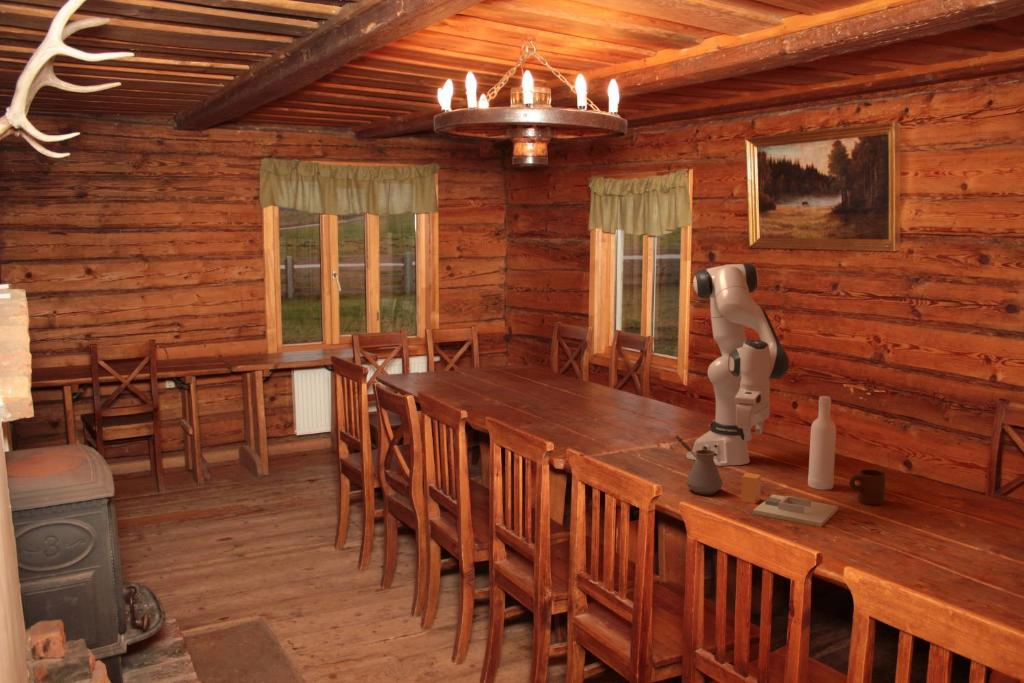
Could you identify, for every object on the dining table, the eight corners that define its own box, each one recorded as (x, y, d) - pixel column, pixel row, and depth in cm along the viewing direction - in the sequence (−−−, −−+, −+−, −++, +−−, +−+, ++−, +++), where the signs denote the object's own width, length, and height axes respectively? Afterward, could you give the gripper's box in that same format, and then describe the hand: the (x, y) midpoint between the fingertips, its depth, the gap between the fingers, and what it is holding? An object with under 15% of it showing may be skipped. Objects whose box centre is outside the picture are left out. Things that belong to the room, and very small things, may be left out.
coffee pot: (729, 493, 287) (731, 447, 285) (701, 498, 282) (703, 452, 280) (687, 476, 306) (689, 433, 304) (660, 480, 301) (661, 437, 299)
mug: (856, 508, 273) (858, 478, 272) (840, 500, 280) (842, 471, 279) (889, 504, 277) (891, 474, 276) (872, 497, 284) (874, 468, 283)
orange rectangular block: (741, 500, 280) (742, 476, 279) (746, 497, 284) (747, 472, 283) (755, 503, 278) (756, 478, 276) (760, 499, 281) (761, 475, 280)
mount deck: (753, 513, 268) (753, 503, 268) (772, 498, 283) (773, 488, 282) (821, 526, 257) (821, 516, 256) (837, 509, 272) (838, 499, 271)
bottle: (834, 490, 290) (839, 399, 286) (809, 489, 292) (814, 398, 288) (831, 483, 298) (836, 394, 294) (806, 482, 300) (810, 393, 295)
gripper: (756, 387, 286) (754, 429, 288) (732, 397, 269) (731, 442, 271) (775, 389, 283) (774, 432, 284) (753, 400, 266) (751, 445, 268)
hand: (753, 437), depth 278 cm, fingers open, 8 cm apart
